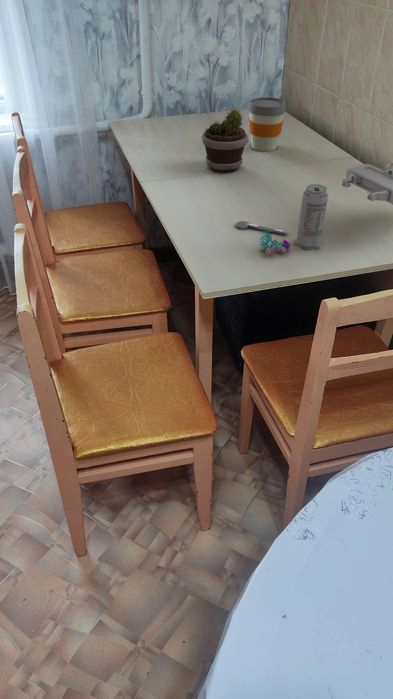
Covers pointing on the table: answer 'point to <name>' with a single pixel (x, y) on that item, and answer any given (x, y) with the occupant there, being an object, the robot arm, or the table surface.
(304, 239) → the energy drink can
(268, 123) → the reusable coffee cup
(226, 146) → the flowerpot
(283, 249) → the anatomy model
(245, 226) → the grey flat-headed rod tool
